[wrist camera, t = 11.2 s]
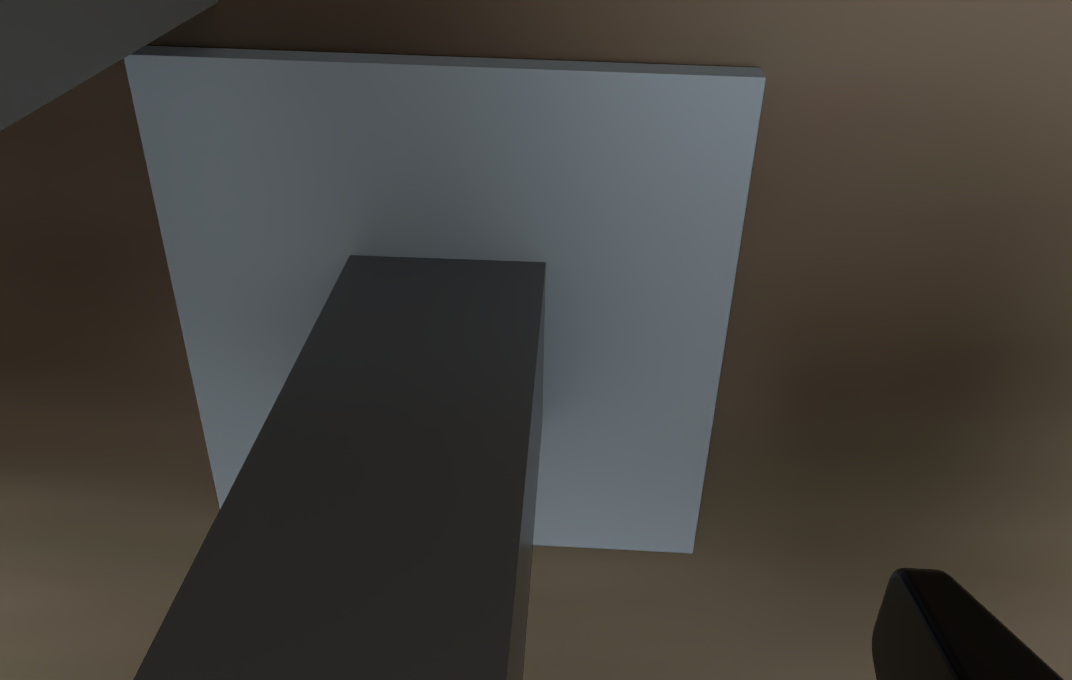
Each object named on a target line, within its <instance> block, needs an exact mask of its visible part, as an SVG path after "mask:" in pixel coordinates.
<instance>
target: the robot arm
mask: <svg viewBox="0 0 1072 680" xmlns="http://www.w3.org/2000/svg"><path fill="white" fill-rule="evenodd" d="M872 655H873V662H874V668H875V673H876V679H877V680H1063V679H1062V678H1061V677H1060V676H1059V675H1058V674H1057V673H1056V672H1055V671H1054V670H1053V669H1051V668H1050V667H1049V666H1048V665H1047V664H1046V663H1045V662H1044V661H1043V660H1042V659H1041V658H1039V657H1038V656H1037V655H1036V654H1035V653H1034V652H1033V651H1032V650H1031V649H1030V648H1028V647H1027V646H1026V645H1025V644H1024V643H1023V642H1022V641H1021V640H1020V639H1019V638H1018V637H1016V636H1015V635H1014V634H1013V633H1012V632H1011V631H1010V630H1009V629H1008V628H1007V627H1006V626H1004V625H1003V624H1002V623H1001V622H1000V621H999V620H998V619H997V618H996V617H995V616H994V615H992V614H991V613H990V612H989V611H988V610H987V609H986V608H985V607H984V606H983V605H982V604H980V603H979V602H978V601H977V600H976V599H975V598H974V597H973V596H972V595H971V594H970V593H968V592H967V591H966V590H965V589H964V588H963V587H962V586H961V585H960V584H959V583H957V582H956V581H955V580H954V579H953V578H952V577H951V576H949V575H948V574H946V573H945V572H943V571H940V570H933V569H915V568H900V569H897V570H896V571H894V573H893V574H892V575H891V577H890V579H889V582H888V585H887V588H886V591H885V595H884V598H883V601H882V604H881V607H880V610H879V613H878V617H877V620H876V623H875V626H874V630H873V635H872Z"/></svg>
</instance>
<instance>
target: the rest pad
mask: <svg viewBox="0 0 1072 680" xmlns="http://www.w3.org/2000/svg"><path fill="white" fill-rule="evenodd" d="M124 62H125V66H126V71H127V76H128V80H129V85H130V90H131V95H132V99H133V104H134V109H135V113H136V118H137V123H138V127H139V132H140V137H141V141H142V146H143V151H144V156H145V160H146V165H147V170H148V174H149V179H150V184H151V188H152V193H153V198H154V202H155V207H156V212H157V216H158V221H159V226H160V231H161V235H162V240H163V245H164V249H165V254H166V259H167V263H168V268H169V273H170V277H171V282H172V287H173V291H174V296H175V301H176V306H177V310H178V315H179V320H180V324H181V329H182V334H183V338H184V343H185V348H186V352H187V357H188V362H189V367H190V371H191V376H192V381H193V385H194V390H195V395H196V399H197V404H198V409H199V413H200V418H201V423H202V427H203V432H204V437H205V442H206V446H207V451H208V456H209V460H210V465H211V470H212V474H213V479H214V484H215V488H216V493H217V498H218V502H219V507H220V509H221V507H222V505H223V503H224V501H225V499H226V497H227V495H228V493H229V491H230V489H231V487H232V485H233V483H234V481H235V479H236V477H237V475H238V473H239V471H240V470H241V468H242V466H243V464H244V462H245V460H246V458H247V456H248V454H249V452H250V450H251V448H252V446H253V444H254V442H255V440H256V438H257V436H258V434H259V432H260V430H261V428H262V426H263V424H264V422H265V420H266V419H267V417H268V415H269V413H270V411H271V409H272V407H273V405H274V403H275V401H276V399H277V397H278V395H279V393H280V391H281V389H282V387H283V385H284V383H285V381H286V379H287V377H288V375H289V373H290V371H291V369H292V368H293V366H294V364H295V362H296V360H297V358H298V356H299V354H300V352H301V350H302V348H303V346H304V344H305V342H306V340H307V338H308V336H309V334H310V332H311V330H312V328H313V326H314V324H315V322H316V320H317V318H318V317H319V315H320V313H321V311H322V309H323V307H324V305H325V303H326V301H327V299H328V297H329V295H330V293H331V291H332V289H333V287H334V285H335V283H336V281H337V279H338V277H339V275H340V273H341V271H342V269H343V267H344V265H345V264H346V262H347V260H348V258H349V256H350V255H359V256H386V257H414V258H442V259H470V260H497V261H525V262H546V279H545V324H544V369H543V414H542V432H541V446H540V459H539V472H538V485H537V498H536V511H535V524H534V537H533V545H544V546H563V547H582V548H601V549H620V550H638V551H657V552H676V553H693V547H694V540H695V534H696V527H697V521H698V514H699V508H700V501H701V495H702V488H703V482H704V476H705V469H706V463H707V456H708V450H709V443H710V437H711V430H712V424H713V417H714V411H715V404H716V398H717V391H718V385H719V378H720V372H721V365H722V359H723V352H724V346H725V340H726V333H727V327H728V320H729V314H730V307H731V301H732V294H733V288H734V281H735V275H736V268H737V262H738V255H739V249H740V242H741V236H742V229H743V223H744V216H745V210H746V204H747V197H748V191H749V184H750V178H751V171H752V165H753V158H754V152H755V145H756V139H757V132H758V126H759V119H760V113H761V106H762V100H763V93H764V87H765V80H766V77H765V75H764V74H763V72H762V70H761V68H756V67H728V66H700V65H672V64H644V63H616V62H588V61H560V60H532V59H504V58H477V57H449V56H421V55H393V54H365V53H337V52H309V51H281V50H253V49H225V48H197V47H169V46H144V47H142V48H140V49H138V50H137V51H135V52H133V53H132V54H130V55H128V56H127V57H125V58H124Z"/></svg>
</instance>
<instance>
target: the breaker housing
mask: <svg viewBox="0 0 1072 680" xmlns="http://www.w3.org/2000/svg"><path fill="white" fill-rule="evenodd" d="M216 3H218V0H0V131H2V130H3V129H5V128H7V127H8V126H10V125H12V124H13V123H15V122H17V121H19V120H20V119H22V118H24V117H25V116H27V115H29V114H30V113H32V112H34V111H35V110H37V109H39V108H40V107H42V106H44V105H46V104H47V103H49V102H51V101H52V100H54V99H56V98H57V97H59V96H61V95H62V94H64V93H66V92H68V91H69V90H71V89H73V88H74V87H76V86H78V85H79V84H81V83H83V82H84V81H86V80H88V79H89V78H91V77H93V76H95V75H96V74H98V73H100V72H101V71H103V70H105V69H106V68H108V67H110V66H111V65H113V64H115V63H117V62H118V61H120V60H122V59H123V58H125V57H127V56H128V55H130V54H132V53H133V52H135V51H137V50H138V49H140V48H142V47H144V46H145V45H147V44H149V43H150V42H152V41H154V40H155V39H157V38H159V37H160V36H162V35H164V34H166V33H167V32H169V31H171V30H172V29H174V28H176V27H177V26H179V25H181V24H182V23H184V22H186V21H187V20H189V19H191V18H193V17H194V16H196V15H198V14H199V13H201V12H203V11H204V10H206V9H208V8H209V7H211V6H213V5H215V4H216Z"/></svg>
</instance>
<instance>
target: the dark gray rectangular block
mask: <svg viewBox="0 0 1072 680" xmlns="http://www.w3.org/2000/svg"><path fill="white" fill-rule="evenodd" d="M545 279H546V262H525V261H497V260H470V259H442V258H414V257H386V256H359V255H350V256H349V258H348V260H347V262H346V264H345V265H344V267H343V269H342V271H341V273H340V275H339V277H338V279H337V281H336V283H335V285H334V287H333V289H332V291H331V293H330V295H329V297H328V299H327V301H326V303H325V305H324V307H323V309H322V311H321V313H320V315H319V317H318V318H317V320H316V322H315V324H314V326H313V328H312V330H311V332H310V334H309V336H308V338H307V340H306V342H305V344H304V346H303V348H302V350H301V352H300V354H299V356H298V358H297V360H296V362H295V364H294V366H293V368H292V369H291V371H290V373H289V375H288V377H287V379H286V381H285V383H284V385H283V387H282V389H281V391H280V393H279V395H278V397H277V399H276V401H275V403H274V405H273V407H272V409H271V411H270V413H269V415H268V417H267V419H266V420H265V422H264V424H263V426H262V428H261V430H260V432H259V434H258V436H257V438H256V440H255V442H254V444H253V446H252V448H251V450H250V452H249V454H248V456H247V458H246V460H245V462H244V464H243V466H242V468H241V470H240V471H239V473H238V475H237V477H236V479H235V481H234V483H233V485H232V487H231V489H230V491H229V493H228V495H227V497H226V499H225V501H224V503H223V505H222V507H221V509H220V511H219V513H218V515H217V517H216V519H215V521H214V523H213V524H212V526H211V528H210V530H209V532H208V534H207V536H206V538H205V540H204V542H203V544H202V546H201V548H200V550H199V552H198V554H197V556H196V558H195V560H194V562H193V564H192V566H191V568H190V570H189V572H188V574H187V575H186V577H185V579H184V581H183V583H182V585H181V587H180V589H179V591H178V593H177V595H176V597H175V599H174V601H173V603H172V605H171V607H170V609H169V611H168V613H167V615H166V617H165V619H164V621H163V623H162V625H161V626H160V628H159V630H158V632H157V634H156V636H155V638H154V640H153V642H152V644H151V646H150V648H149V650H148V652H147V654H146V656H145V658H144V660H143V662H142V664H141V666H140V668H139V670H138V672H137V674H136V676H135V677H134V679H133V680H523V668H524V655H525V642H526V629H527V616H528V603H529V590H530V577H531V564H532V550H533V537H534V524H535V511H536V498H537V485H538V472H539V459H540V446H541V432H542V414H543V369H544V324H545Z"/></svg>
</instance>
